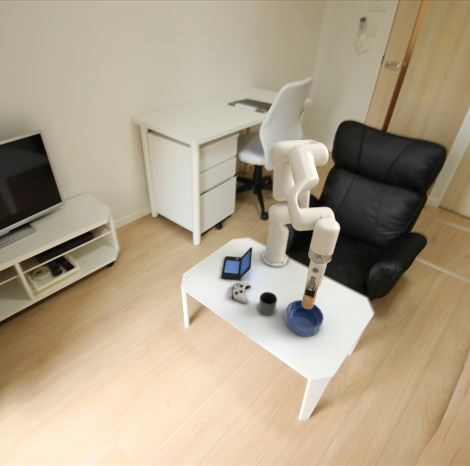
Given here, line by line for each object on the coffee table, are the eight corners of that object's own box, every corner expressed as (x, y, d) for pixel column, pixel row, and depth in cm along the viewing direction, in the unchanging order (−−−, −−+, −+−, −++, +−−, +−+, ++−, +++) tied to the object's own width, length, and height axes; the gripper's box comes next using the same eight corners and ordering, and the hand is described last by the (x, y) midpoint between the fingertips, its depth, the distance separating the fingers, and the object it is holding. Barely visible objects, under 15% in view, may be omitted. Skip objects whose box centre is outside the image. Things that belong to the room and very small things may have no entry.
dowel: (302, 298, 123) (308, 276, 116) (314, 302, 121) (320, 280, 114) (300, 306, 120) (305, 284, 113) (311, 310, 118) (318, 288, 111)
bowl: (289, 304, 135) (291, 295, 132) (323, 316, 130) (326, 307, 126) (280, 329, 125) (282, 320, 122) (316, 343, 120) (319, 334, 117)
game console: (224, 257, 160) (225, 243, 155) (251, 260, 158) (252, 246, 153) (220, 279, 148) (220, 264, 142) (249, 282, 146) (250, 267, 140)
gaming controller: (249, 303, 134) (238, 294, 132) (238, 309, 138) (228, 299, 136) (252, 285, 143) (241, 275, 141) (241, 290, 146) (231, 281, 144)
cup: (261, 301, 137) (263, 289, 133) (277, 306, 134) (279, 295, 130) (256, 312, 132) (257, 301, 128) (272, 318, 129) (274, 307, 125)
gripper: (327, 271, 98) (316, 310, 109) (336, 242, 110) (325, 279, 121) (303, 264, 101) (294, 303, 112) (314, 236, 113) (305, 273, 124)
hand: (310, 290), depth 116 cm, fingers closed on dowel, 4 cm apart
